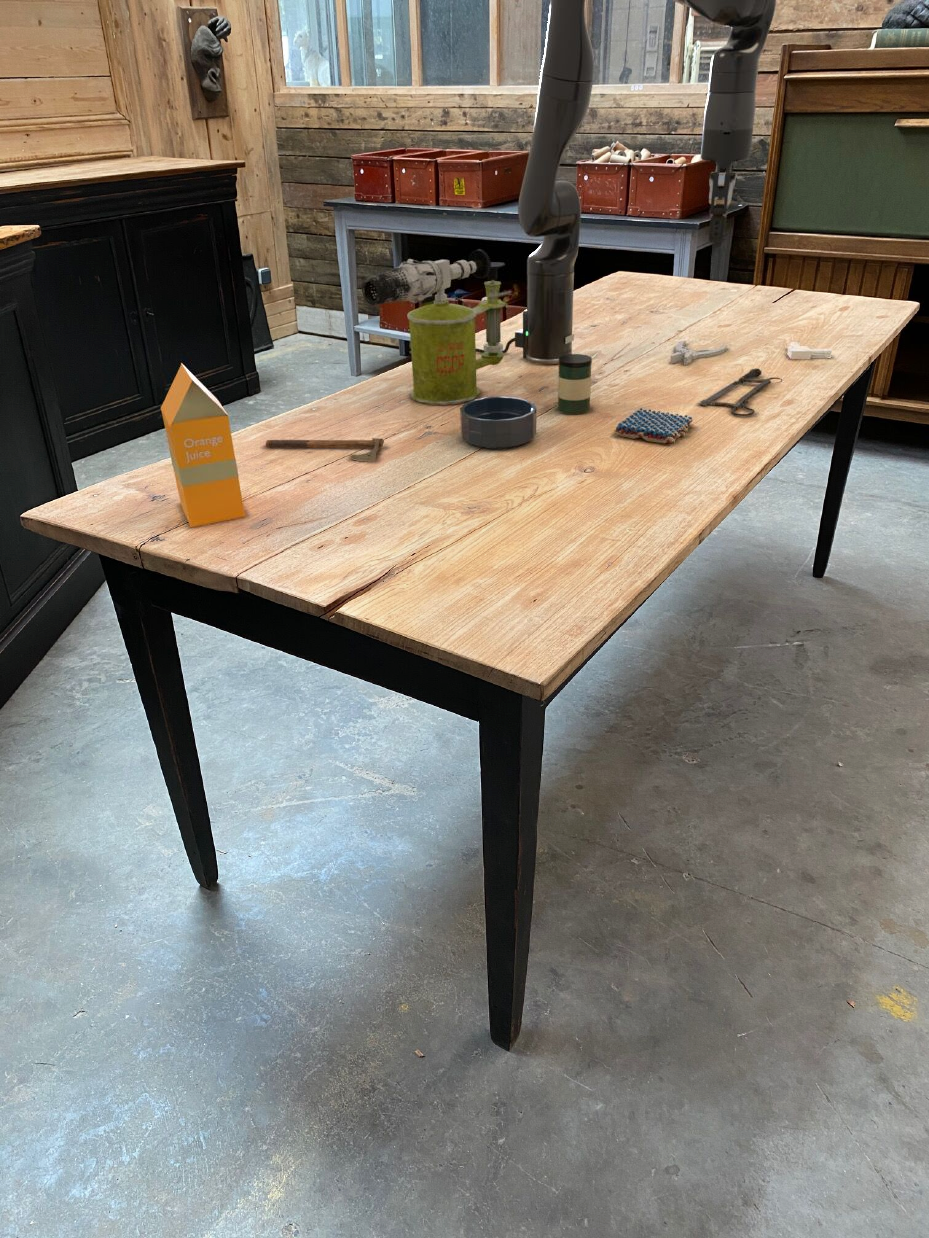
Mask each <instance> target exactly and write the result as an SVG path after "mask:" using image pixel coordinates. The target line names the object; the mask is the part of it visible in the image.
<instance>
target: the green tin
mask: <svg viewBox="0 0 929 1238" xmlns="http://www.w3.org/2000/svg"><path fill="white" fill-rule="evenodd" d="M558 363H559V364H558V374H557V376H558V377H557V410H558V412H559V413H562V414H565V415H581V414H582V415H583V414H586V413H588V412H589V411H591V393H592V390H591V389H592V363H593V358H592V357H591V356H590V355H587V354H581V353H572V354H568V355H564V356H561V357H559V360H558Z"/></svg>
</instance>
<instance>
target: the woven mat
mask: <svg viewBox="0 0 929 1238" xmlns="http://www.w3.org/2000/svg"><path fill="white" fill-rule="evenodd" d="M693 422H694V419H693V417H692V416H688V415H687V414H685V415H684V416H683V415H682V414H678V413H675V414H673V413H670V412H661V410H657V411H655V410H652V409H648V410H647V409H643V407H640V408H639V409H637V410H634V412H632V413H630V414H629V416H628V417H625V419H623V420H621V422H619V423H618V424H617V426H616V427H615V429H614V430H613V431H614V433H615V434H616V435H617V436H619V437H621V438H626V439H627V438H628V439H632V440H635V439H638V438H640V439H643V440H645V441H647V442H650V443H651V442H653V443H658V444H666V443H668V444H672V443H674V444H675V443H676V440H678V439H679V438H680V437H685V436H686V433H688V431H689V429H693V427H694V424H693Z"/></svg>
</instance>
